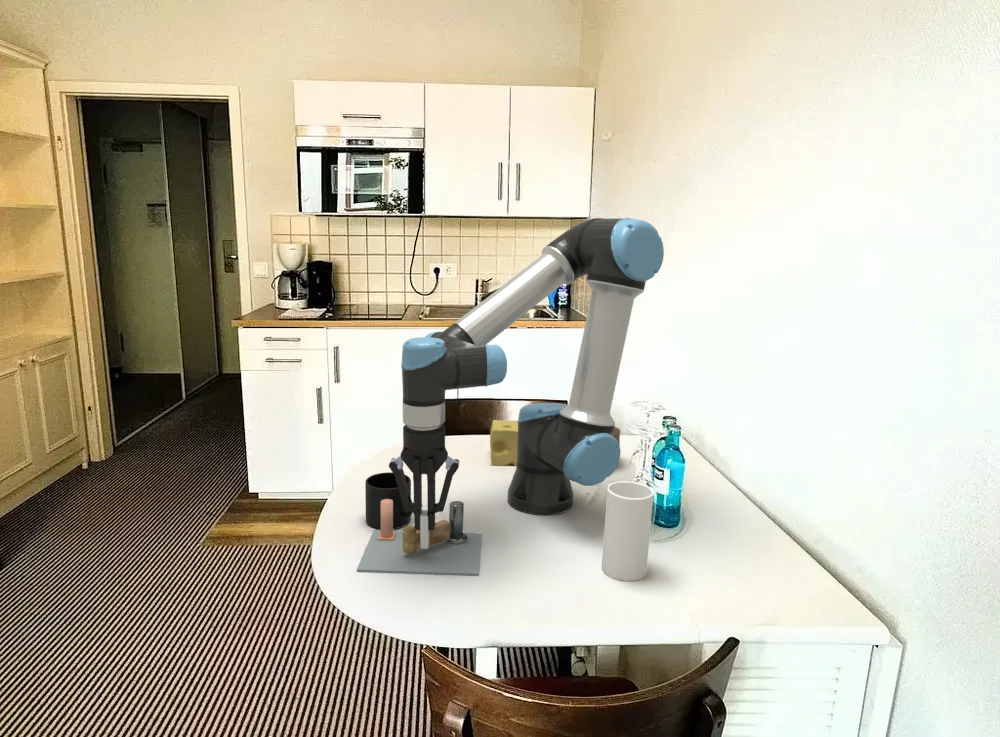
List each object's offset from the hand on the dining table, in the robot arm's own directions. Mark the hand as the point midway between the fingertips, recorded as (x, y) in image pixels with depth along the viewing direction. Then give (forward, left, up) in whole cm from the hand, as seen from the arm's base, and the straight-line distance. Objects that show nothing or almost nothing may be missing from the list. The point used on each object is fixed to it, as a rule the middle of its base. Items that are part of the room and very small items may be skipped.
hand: (425, 544), depth 124 cm
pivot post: (-5, -8, -3) cm, 10 cm away
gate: (0, -3, -2) cm, 3 cm away
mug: (+9, -16, -3) cm, 18 cm away
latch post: (+9, -8, -3) cm, 12 cm away
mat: (+1, -3, -3) cm, 4 cm away
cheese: (-16, -56, -3) cm, 58 cm away
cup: (-37, +1, -3) cm, 37 cm away
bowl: (-39, -55, -3) cm, 68 cm away
